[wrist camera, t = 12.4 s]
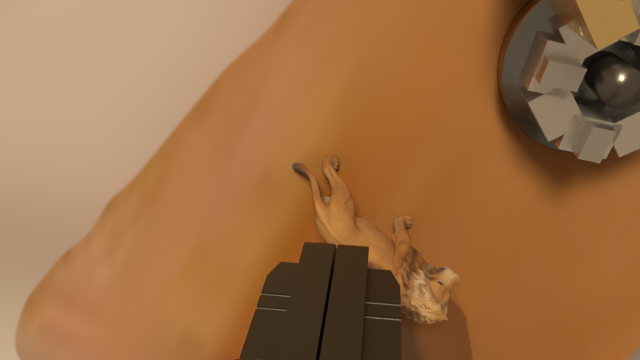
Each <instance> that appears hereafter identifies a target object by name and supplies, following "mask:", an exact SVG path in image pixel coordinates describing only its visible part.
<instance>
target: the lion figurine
mask: <svg viewBox="0 0 640 360" xmlns="http://www.w3.org/2000/svg"><path fill="white" fill-rule="evenodd" d="M338 167H339V160H338V158H337V157H336V156H333V155H329V156H327V157H326V158H325V159H324V160H323V161H322V168H323V173H324V174H325V175H326V177H327V178H328V180H329V182H330V186H331V190H332V191H331V195H330V197H326V196H324V197H322V199H321V194H320V189H319V185H318V182H317V179H316V177H315V175H314V174H313V172H312V171H310V170H309V169H308V168H306V167H305V166H304V165H303V164H299V163H294V164H293V165H292V168H293V169H295V170H296V171H298V172H300V173H301V174H303V175H306V176H308V177H309V179H310V183H311V187H312V194H313V200H314V204H315V209H316V217H315V225H316V228H317V230H318V231H319V233H320V234H321V235H322V237H323V238H324V240H325V241H326V242H327V243H328V244H336V249H337V247H338V244H341V245H355V246H369V257H368V269H382V270H391V271H392V273H393V275H394V276H395V278H396V280H397V281H398V283H399V285H400V296H401V306H400V307H401V312H402V313H403V314H406V317H407V318H409V319H413V320H414V321H416V322H418V323H427V324H433V323H436V322H437V321H438V322H439V321H441V320H448V319H447V317H446V314H447V311H448V310H447V307H448V306H447V302H448V301H449V299H450V291H451V290H452V289H453V288H454V287H455V286H456V285H457V284H458V283H459V282H460V278H459V276H458V275H457V274H456V273H454V272H453V271H452V270H451V269H449V268H448V267H445V266H444V267H442V268H440V269H438V270H436V268H435V267H434V266H433V265H432V264H429V263H426V262H425V261H424V258H423V257H422V254H421V253H419V252H418V251H417V250H415V249H414V248H412V247H411V241H410V237H409V234H408V232H407V230H406V229H407V228H410V227H411V226H412V222H413V221H412V219H411V216H408V215H403V216H399V217H398V218H397V219H396V220H395V221H394V228H395V233H394V234H393V235H392V237H391V238H389V237H388V236H387V235H386V234H385V233H384V232H383V231H381V230H380V229H379V228H378V227H376V226H375V225H373V224H372V223H370V222H369V221H367V220H365V219H362V218H358V217H357V216H356V215H355V206H354V201H353V198H352V196H351V193H350V191H349V189H348V187H347V185H346V184H345V182H344V181H343V180H342V179H341V177H340V176H339V175H338V174H337V172H336V171H335V170H336V169H338Z"/></svg>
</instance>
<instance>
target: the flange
mask: <svg viewBox="0 0 640 360" xmlns="http://www.w3.org/2000/svg"><path fill="white" fill-rule="evenodd" d="M554 15H556V13H555V11H554V9H553V7H552V4H551V2H550V0H530V1H529V2H528V3H527V4H526V5H525V6H524V7H523V8H522V9H521V11H520V12H519V13H518V14H517V16H516V17H515V19H514V20H513V22H512V23H511V25H510V27H509V29H508V31H507V33H506V35H505V37H504V40H503V43H502V45H501V49H500V53H499V58H498V68H497V73H498V84H499V88H500V92H501V95H502V98H503V100H504V102H505V104H506V106H507V108H508V110H509V112H510V114H511V115H512V117H513V119H514V121H515V122H516V123H517V124H518V126H519V127H520V128H521V129H522V130H523V131H524V132H525V133H526V134H527V135H528V136H530V137H531V138H532V139H534V140H535V141H537V142H539V143H541V144H543V145H545V146H547V147H550V148H552V149H555V150H559V151H564V152H569V153H573V152H571V151H566V150H562V149H558V148H557V146H556V145H555V143H554V142H553V140H551V141H549V142H548V140H547V139H546V137H545V135H544V134H543V132H542V131H541V129H540V127H539V126H538V124H537V122H536V120H535V118H534V116H533V114H532V112H531V111H530V109H529V107H528V105H527V103H526V101H525V99H524V97H523V95H522V94H521V92H520V90H519V89H521V88H523V87H524V84H523V83H522V81H521V80H520V78H519V76H520V73H521V71H522V68H523V66H524V63H525V61H526V58H527V56H528V53H529V51H530V48H531V45H532V43H533V40H534V38H535V35H536V33H537V30H539V31H543V32H548V33H552V34H554V32H553V30H552V28H551V26H550V24H549V22H548V20H547V19H549V18H550V17H552V16H554ZM582 65H584V66H585V67H586V68H587V71H586V73H585V75H584V77H583V80H582V82H581V84H580V86H579V88H578V90H577V92H574V91H571V93H572V95H573V97H574V99H575V101H576V103H577V104H582V105H586V106H591V107H595V108H600V109H601V108H603V107H605V106H609V107H610V108H613V109H617V110H623V109H628V108H631V107H633V106H635V105H636V104H638V103H639V102H640V46H638V45H634V44H632V43H631V42H627V41H622V40H619V41H617V42H615V43H613V44H611V45H609V46H607V47H605V48H603V49H601V50H600V51H598V52H596V53H594V54H592V55H590V56H588V57H586V58H585V59H584V61H583V63H582ZM611 150H613V149H612V148H611Z"/></svg>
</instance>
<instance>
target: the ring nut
mask: <svg viewBox="0 0 640 360" xmlns="http://www.w3.org/2000/svg"><path fill="white" fill-rule="evenodd" d="M550 2H551V4H552V7H553V9H554V11H555V13H556V15H554V16H552V17H550V18H549V19H547V20H548V22H549V24H550V26H551V28H552V30H553V32H554V34H552V33H548V32H543V31H539V30H537V33H536V35H535V38H534V40H533V43H532V45H531V48H530V51H529V53H528V56H527V58H526V61H525V63H524V66H523V68H522V71H521V73H520V76H519V78H520V80H521V81H522V83H523V84H524V87H523V88H521V89H519V90H520V92H521V94H522V95H523V97H524V99H525V101H526V103H527V105H528V107H529V109H530V111H531V112H532V114H533V116H534V118H535V120H536V122H537V124H538V126H539V127H540V129H541V131H542V132H543V134H544V135H545V137H546V139H547V140H548V142H549V141H551V140H553V142H554V143H555V145H556V146H557V148H558V149H562V150H566V151H571V152H573V153H574V154H575V156H576V157H577V159H582V160H586V161H591V162H595V163H600V162H601V160H602V159H606V158H607V156H608V154H609V152H610V150H611V148H612V149H613V150H614V152H615V153H616V154H617V155H618V156H619V157H622V156H624V155H626V154H629V153H631V152H633V151H635V150H638V149H640V102H639V103H638V104H636V105H635V106H633V107H631V108H628V109H623V110H617V109H613V108H610V107H609V106H605V107H603V108H601V109H600V108H595V107H591V106H586V105H582V104H577V103H576V101H575V99H574V97H573V95H572V93H571V91H574V92H577V90H578V88H579V86H580V84H581V82H582V80H583V77H584V75H585V73H586V71H587V68H586V67H585V66H584V65H582V63H583V61H584V59H585V58H586V57H588V56H590V55H592V54H594V53H596V52H598V51H600V50H601V49H603V48H605V47H607V46H609V45H611V44H613V43H615V42H617V41H619V40H622V41H627V42H631V43H632V44H634V45H638V46H640V0H550Z"/></svg>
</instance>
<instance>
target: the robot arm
mask: <svg viewBox="0 0 640 360" xmlns="http://www.w3.org/2000/svg"><path fill="white" fill-rule="evenodd" d="M368 257H369V246H355V245H341V244H338V247H337V253H336V244H325V243H311V242H305V243H304V246H303V250H302V253H301V257H300V261H299V263H286V262H280V263H279V264H278V265H277V266H276V267H275V268H274V269H273V270H272V271H271V272H270V273H269V274H268V275H267V278H266V281H265V284H264V287H263V289H262V294H261V296H260V298H259V301H258V304H257V310H255V313H254V316H253V319H252V322H251V325H250V328H249V331H248V334H247V337H246V340H245V343H244V346H243V349H242V352H241V355H240V358H239V360H473V357H472V351H471V345H470V340H469V334H468V328H467V323H466V318H465V316H464V314H463V312H462V311H461V310H460V308H459V307H458V306H457V305H456V304H455V303H453V302H452V301H451V300H449V301H448V302H447V306H448V307H447V310H448V311H447V314H446V317H447V319H448V320H441V321H439V322H438V321H437V322H436V323H433V324H427V323H418V322H416V321H414V320H413V319H409V318H407V317H406V314H403V313H402V312H401V307H400V306H401V296H400V285H399V283H398V281H397V280H396V278H395V276H394V275H393V273H392V271H391V270H382V269H368Z"/></svg>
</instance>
